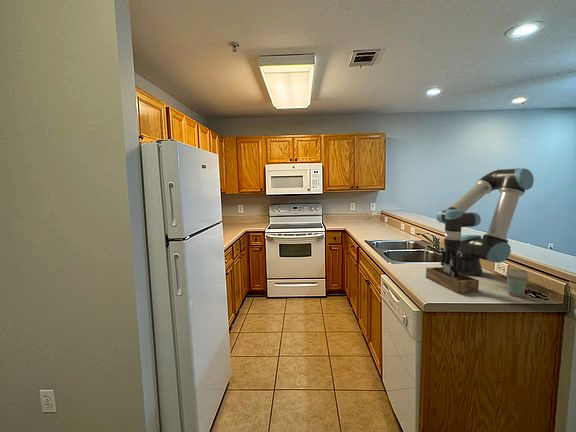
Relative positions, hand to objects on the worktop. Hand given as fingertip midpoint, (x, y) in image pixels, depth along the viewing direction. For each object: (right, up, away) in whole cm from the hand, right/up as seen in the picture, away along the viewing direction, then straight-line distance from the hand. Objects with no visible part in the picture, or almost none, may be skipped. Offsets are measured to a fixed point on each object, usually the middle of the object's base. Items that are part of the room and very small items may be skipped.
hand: (450, 281), depth 151 cm
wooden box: (0, -2, 0) cm, 2 cm away
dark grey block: (0, 0, 0) cm, 0 cm away
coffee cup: (+23, -3, -15) cm, 28 cm away
